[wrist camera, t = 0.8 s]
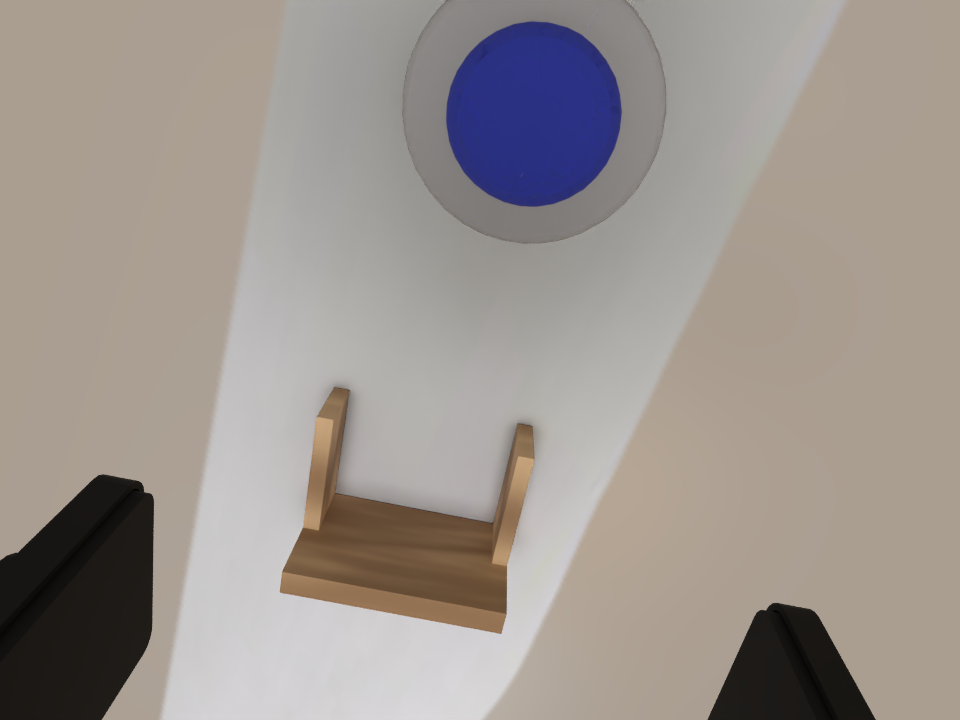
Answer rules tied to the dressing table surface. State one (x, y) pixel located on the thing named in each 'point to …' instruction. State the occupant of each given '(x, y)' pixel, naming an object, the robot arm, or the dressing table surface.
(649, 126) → the bottle
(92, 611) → the robot arm
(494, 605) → the wooden u-shaped piece
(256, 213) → the dressing table surface
